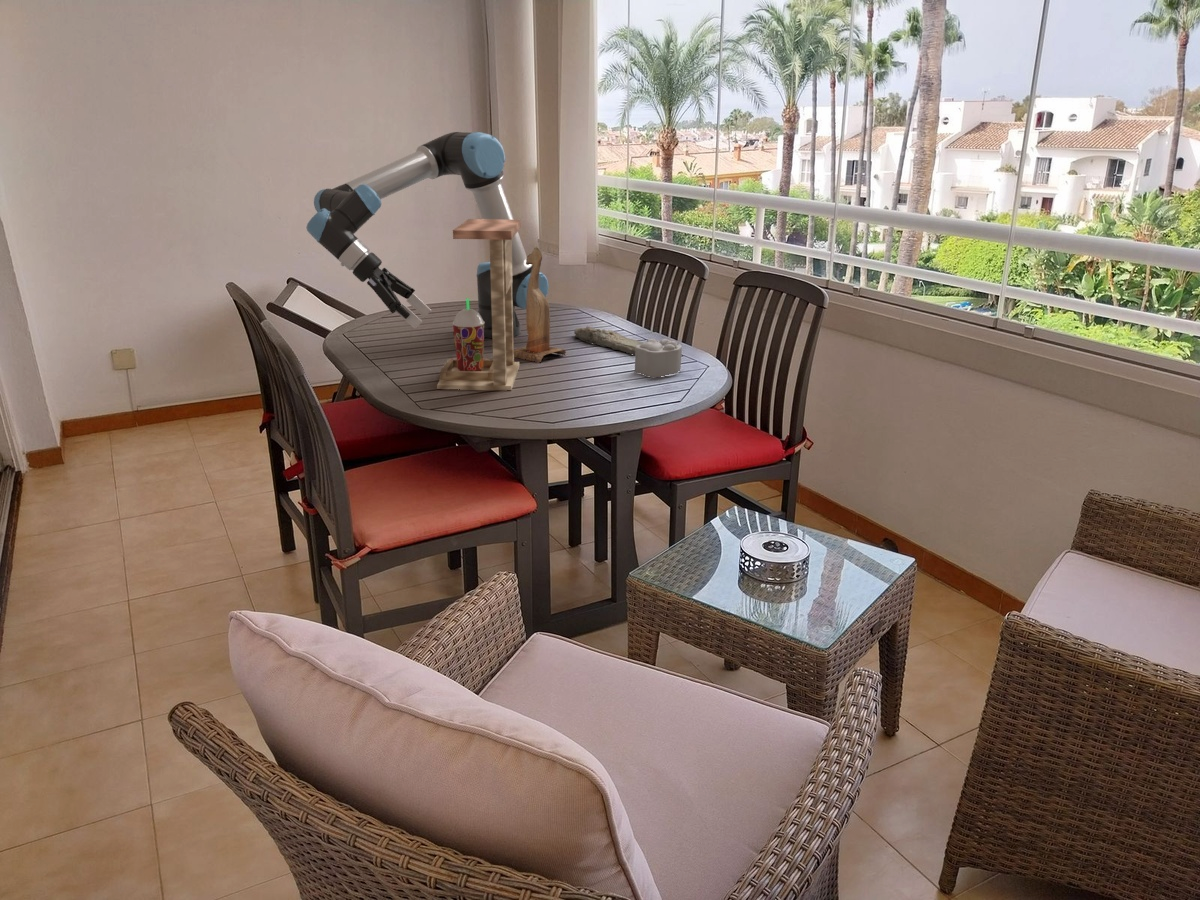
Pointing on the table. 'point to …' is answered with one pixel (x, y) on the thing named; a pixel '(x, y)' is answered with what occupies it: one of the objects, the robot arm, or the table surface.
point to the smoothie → (469, 339)
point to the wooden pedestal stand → (502, 366)
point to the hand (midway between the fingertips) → (423, 319)
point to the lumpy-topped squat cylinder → (658, 358)
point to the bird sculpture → (536, 316)
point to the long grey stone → (607, 339)
